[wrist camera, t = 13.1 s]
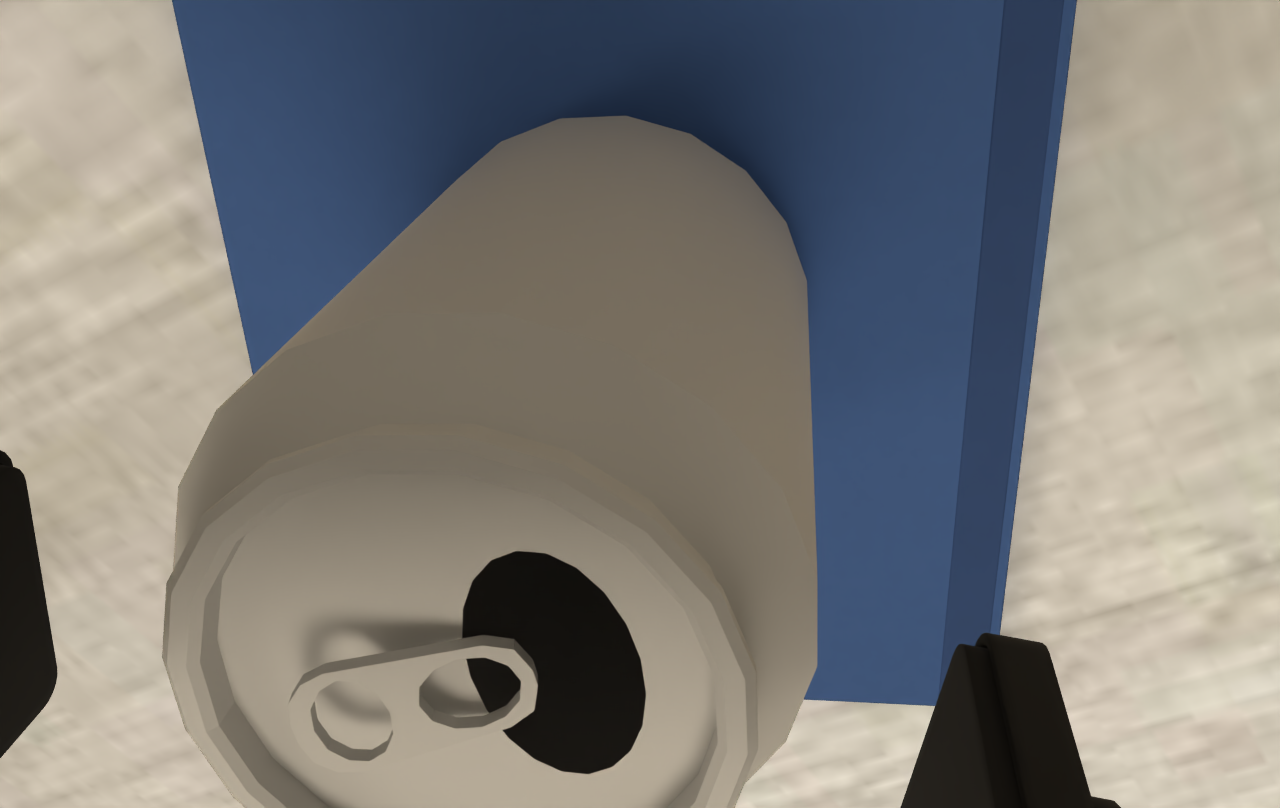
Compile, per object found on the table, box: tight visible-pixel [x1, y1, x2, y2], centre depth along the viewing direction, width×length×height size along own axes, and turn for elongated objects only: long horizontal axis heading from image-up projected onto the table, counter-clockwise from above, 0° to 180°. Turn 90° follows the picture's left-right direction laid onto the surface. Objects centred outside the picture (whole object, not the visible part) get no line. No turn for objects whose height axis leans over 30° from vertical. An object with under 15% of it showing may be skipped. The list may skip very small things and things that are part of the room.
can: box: [162, 116, 817, 808], centre depth 16 cm, size 8×8×12 cm
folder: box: [172, 0, 1077, 706], centre depth 22 cm, size 20×16×1 cm
